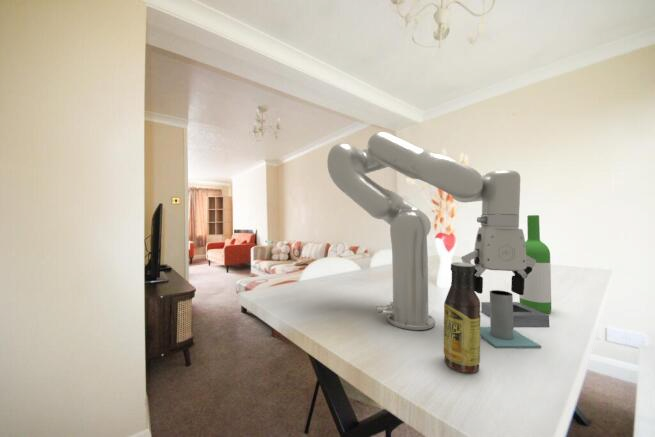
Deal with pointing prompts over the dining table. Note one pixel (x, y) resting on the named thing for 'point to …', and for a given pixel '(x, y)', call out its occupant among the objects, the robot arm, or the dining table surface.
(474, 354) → the sauce bottle
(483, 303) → the socket block
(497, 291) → the grey cylinder
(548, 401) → the dining table surface
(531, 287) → the wine bottle
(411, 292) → the robot arm
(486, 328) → the mat
